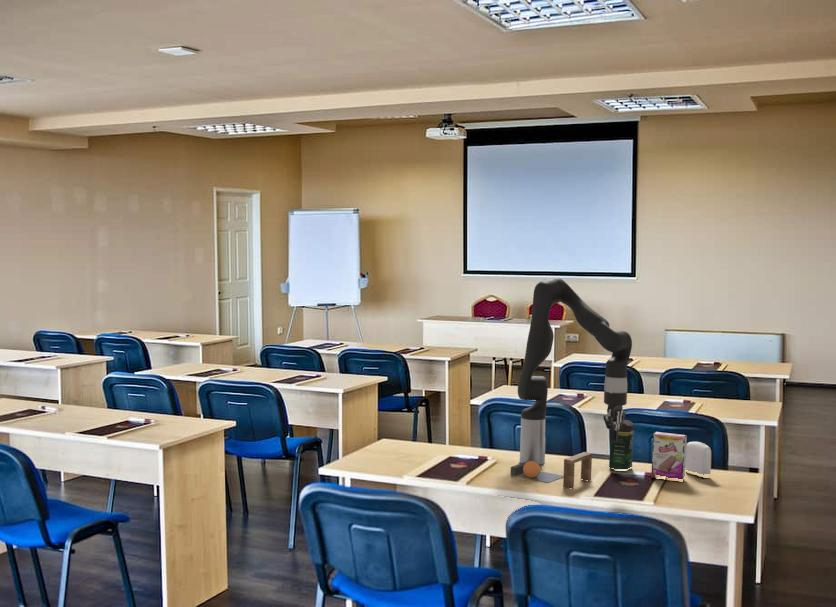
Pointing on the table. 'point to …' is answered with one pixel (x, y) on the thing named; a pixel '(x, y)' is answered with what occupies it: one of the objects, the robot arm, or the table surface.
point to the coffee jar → (622, 447)
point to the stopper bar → (517, 469)
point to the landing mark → (544, 477)
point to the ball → (531, 469)
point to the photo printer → (698, 458)
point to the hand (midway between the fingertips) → (613, 441)
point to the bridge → (569, 468)
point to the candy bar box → (669, 455)
